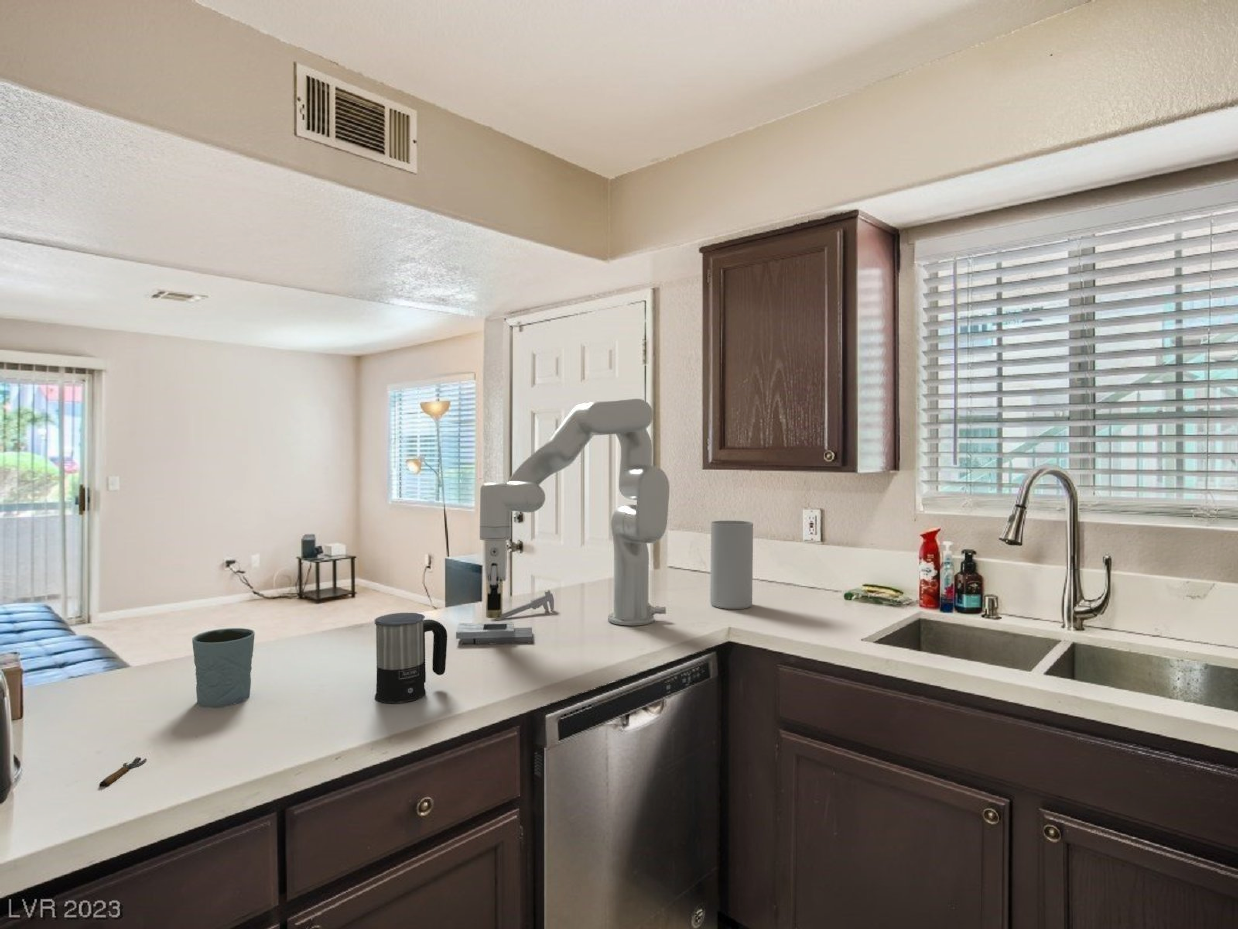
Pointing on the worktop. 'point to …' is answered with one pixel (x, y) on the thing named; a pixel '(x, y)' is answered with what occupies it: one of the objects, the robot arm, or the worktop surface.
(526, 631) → the grey socket block
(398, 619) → the milk frother
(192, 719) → the worktop surface
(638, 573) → the robot arm
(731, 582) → the cylinder vase
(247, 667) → the embossed planter pot
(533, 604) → the caliper
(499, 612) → the pin
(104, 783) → the can opener
